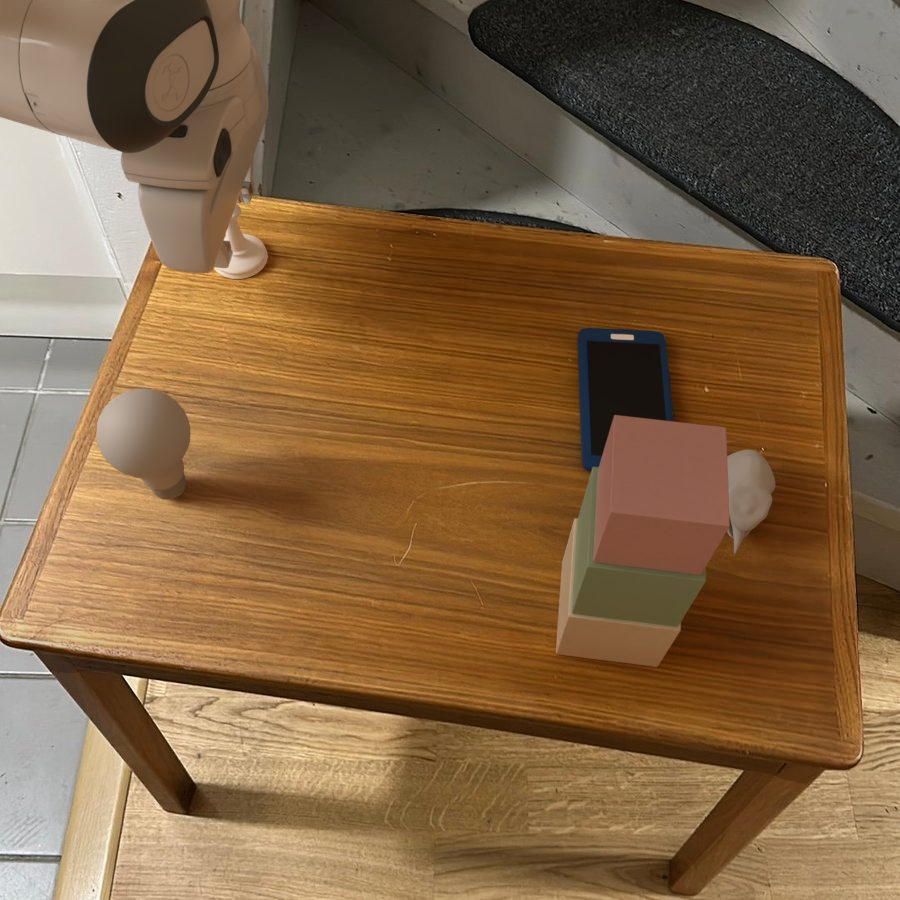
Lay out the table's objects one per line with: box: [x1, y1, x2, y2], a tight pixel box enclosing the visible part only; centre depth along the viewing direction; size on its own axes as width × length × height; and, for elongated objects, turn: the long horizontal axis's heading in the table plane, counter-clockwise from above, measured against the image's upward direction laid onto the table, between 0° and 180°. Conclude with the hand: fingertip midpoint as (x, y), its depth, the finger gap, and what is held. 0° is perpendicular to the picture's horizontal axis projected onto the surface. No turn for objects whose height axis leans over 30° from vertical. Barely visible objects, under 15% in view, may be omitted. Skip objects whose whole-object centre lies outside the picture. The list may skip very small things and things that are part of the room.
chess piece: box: [213, 203, 269, 280], centre depth 78 cm, size 5×5×10 cm
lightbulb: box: [95, 387, 191, 501], centre depth 65 cm, size 6×6×11 cm
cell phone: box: [576, 327, 675, 473], centre depth 74 cm, size 7×14×1 cm, turn 177°
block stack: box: [555, 415, 730, 668], centre depth 57 cm, size 7×7×20 cm
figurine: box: [726, 448, 776, 555], centre depth 67 cm, size 4×8×5 cm, turn 165°
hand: (232, 228), depth 79 cm, fingers open, 6 cm apart
